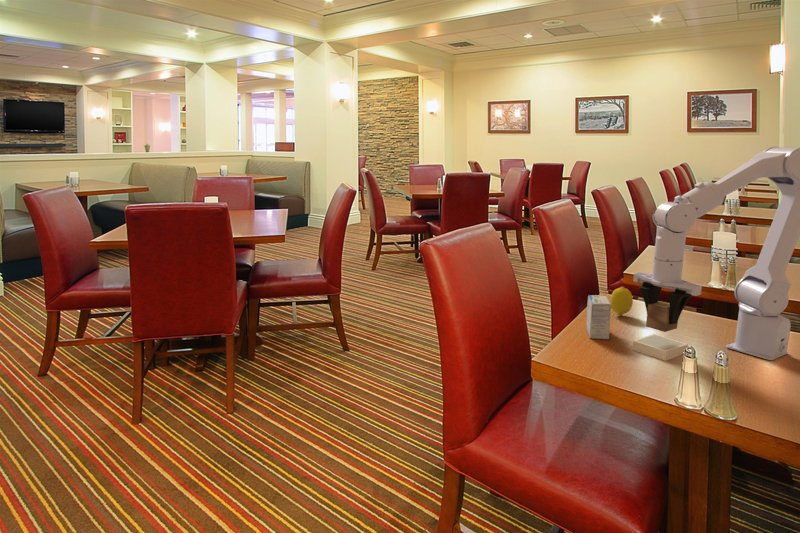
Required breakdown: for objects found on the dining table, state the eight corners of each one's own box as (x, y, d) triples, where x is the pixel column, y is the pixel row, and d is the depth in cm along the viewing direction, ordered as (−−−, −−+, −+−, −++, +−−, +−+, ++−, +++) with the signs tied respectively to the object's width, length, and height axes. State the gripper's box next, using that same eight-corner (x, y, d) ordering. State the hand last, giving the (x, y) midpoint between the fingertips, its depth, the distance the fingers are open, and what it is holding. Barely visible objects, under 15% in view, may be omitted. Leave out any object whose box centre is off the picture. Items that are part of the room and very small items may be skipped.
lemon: (615, 311, 155) (618, 282, 153) (635, 316, 151) (638, 286, 149) (604, 315, 151) (607, 286, 149) (624, 320, 147) (627, 290, 145)
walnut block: (676, 328, 124) (679, 305, 123) (664, 332, 121) (667, 309, 120) (657, 322, 128) (660, 300, 126) (645, 326, 125) (648, 303, 124)
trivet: (686, 354, 125) (687, 343, 124) (665, 362, 120) (666, 351, 120) (653, 344, 131) (654, 333, 131) (631, 351, 127) (632, 340, 126)
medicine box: (609, 340, 133) (612, 304, 131) (589, 338, 134) (591, 303, 132) (604, 329, 140) (606, 295, 138) (585, 328, 141) (587, 294, 139)
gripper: (627, 255, 125) (621, 314, 128) (690, 267, 113) (683, 332, 116) (646, 252, 129) (641, 309, 132) (710, 263, 117) (702, 326, 120)
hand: (662, 320), depth 124 cm, fingers closed on walnut block, 4 cm apart
